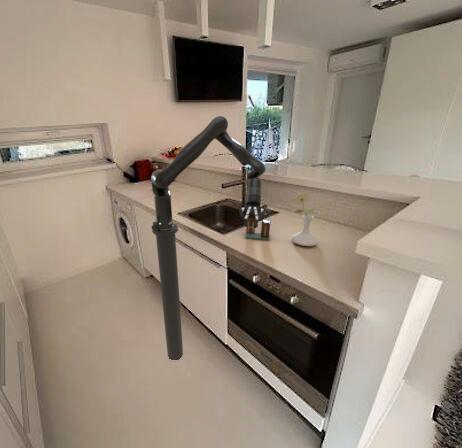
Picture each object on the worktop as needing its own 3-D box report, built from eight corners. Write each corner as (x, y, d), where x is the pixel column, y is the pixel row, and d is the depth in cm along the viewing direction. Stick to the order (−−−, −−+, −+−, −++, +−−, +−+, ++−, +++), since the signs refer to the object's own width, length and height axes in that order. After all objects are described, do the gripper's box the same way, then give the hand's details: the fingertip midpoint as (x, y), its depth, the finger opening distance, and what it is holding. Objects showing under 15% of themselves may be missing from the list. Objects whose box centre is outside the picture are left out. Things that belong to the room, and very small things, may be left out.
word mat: (245, 238, 124) (246, 237, 124) (246, 233, 129) (247, 232, 129) (268, 240, 121) (268, 239, 121) (268, 235, 126) (268, 234, 126)
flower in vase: (314, 238, 121) (322, 189, 111) (319, 249, 110) (329, 195, 101) (286, 236, 124) (292, 188, 114) (289, 247, 114) (295, 195, 104)
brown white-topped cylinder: (260, 237, 123) (261, 222, 120) (260, 234, 126) (261, 219, 123) (268, 238, 122) (270, 223, 119) (268, 235, 125) (270, 220, 122)
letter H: (246, 234, 124) (247, 219, 121) (246, 231, 128) (247, 216, 125) (254, 234, 123) (255, 219, 120) (254, 231, 126) (255, 217, 123)
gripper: (239, 193, 127) (235, 223, 121) (268, 194, 123) (265, 225, 117) (240, 199, 134) (236, 228, 128) (267, 201, 130) (265, 231, 124)
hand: (250, 227), depth 122 cm, fingers closed on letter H, 4 cm apart
